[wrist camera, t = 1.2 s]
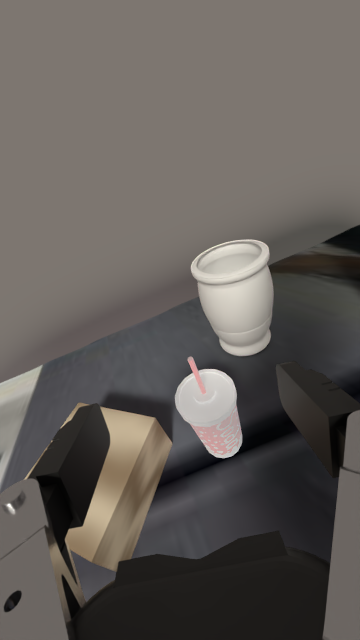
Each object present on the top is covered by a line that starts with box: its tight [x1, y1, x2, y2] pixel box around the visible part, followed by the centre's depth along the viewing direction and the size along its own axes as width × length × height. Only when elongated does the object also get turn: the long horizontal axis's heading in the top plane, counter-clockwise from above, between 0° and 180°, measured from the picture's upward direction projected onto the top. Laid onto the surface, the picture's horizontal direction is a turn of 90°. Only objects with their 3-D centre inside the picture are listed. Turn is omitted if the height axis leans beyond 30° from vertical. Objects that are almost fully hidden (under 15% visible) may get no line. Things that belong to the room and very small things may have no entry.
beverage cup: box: [175, 357, 242, 458], centre depth 25 cm, size 6×6×14 cm
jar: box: [191, 240, 274, 356], centre depth 36 cm, size 11×10×15 cm
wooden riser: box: [24, 403, 172, 572], centre depth 27 cm, size 12×12×6 cm
